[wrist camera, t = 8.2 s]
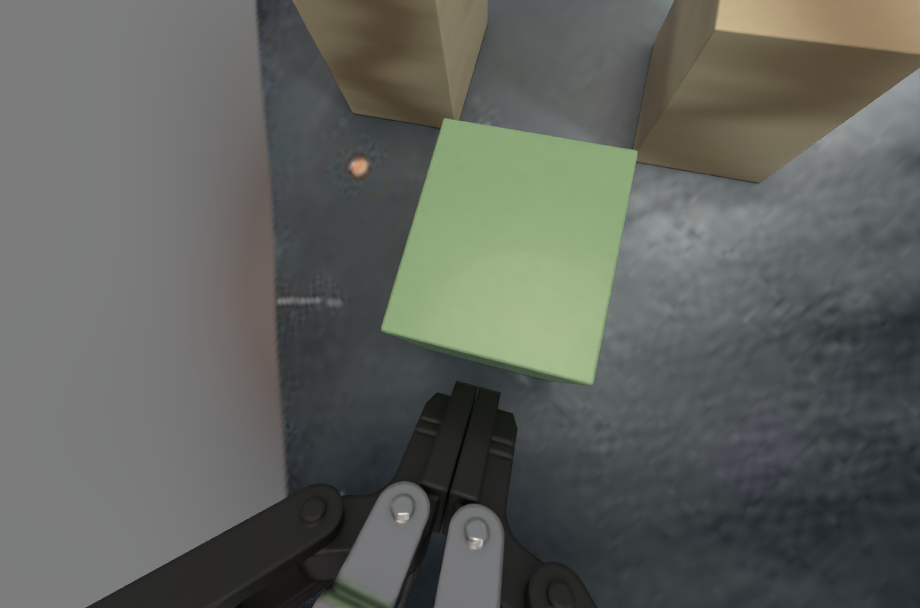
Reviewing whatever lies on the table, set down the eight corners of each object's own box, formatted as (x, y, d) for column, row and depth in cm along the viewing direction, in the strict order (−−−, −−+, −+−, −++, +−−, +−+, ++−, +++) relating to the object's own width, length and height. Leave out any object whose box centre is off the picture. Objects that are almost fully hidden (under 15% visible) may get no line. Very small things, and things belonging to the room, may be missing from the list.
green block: (425, 348, 17) (378, 330, 10) (462, 213, 18) (443, 116, 11) (551, 381, 16) (593, 386, 9) (581, 238, 17) (639, 149, 10)
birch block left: (352, 113, 20) (278, -24, 13) (388, 10, 21) (338, -165, 14) (456, 131, 19) (435, -5, 12) (487, 23, 20) (484, -157, 13)
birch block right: (629, 161, 18) (714, 28, 11) (652, 44, 19) (742, -142, 12) (759, 183, 17) (938, 55, 10) (775, 59, 18) (945, -130, 11)
